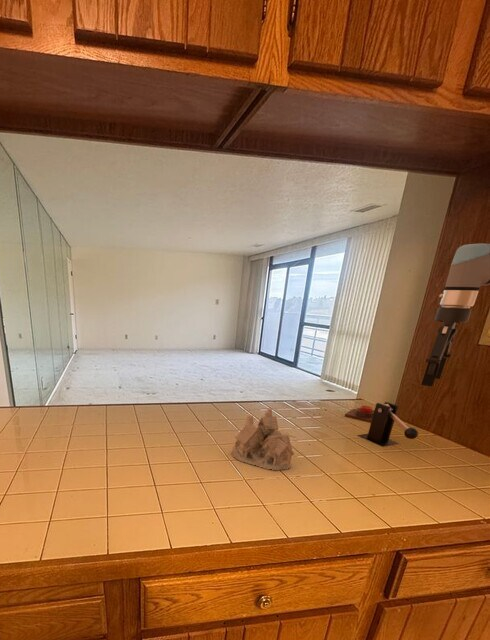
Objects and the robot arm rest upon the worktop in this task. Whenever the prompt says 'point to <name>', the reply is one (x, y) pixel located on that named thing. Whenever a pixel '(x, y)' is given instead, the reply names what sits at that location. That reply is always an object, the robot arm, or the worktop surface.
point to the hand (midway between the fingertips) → (430, 381)
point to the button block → (360, 415)
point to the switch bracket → (381, 425)
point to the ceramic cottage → (263, 444)
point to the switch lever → (403, 425)
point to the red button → (366, 409)
